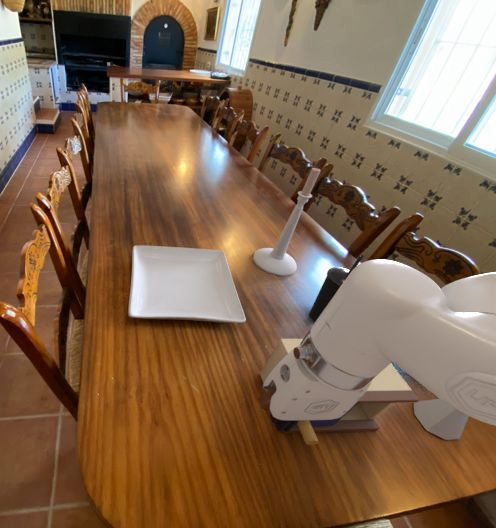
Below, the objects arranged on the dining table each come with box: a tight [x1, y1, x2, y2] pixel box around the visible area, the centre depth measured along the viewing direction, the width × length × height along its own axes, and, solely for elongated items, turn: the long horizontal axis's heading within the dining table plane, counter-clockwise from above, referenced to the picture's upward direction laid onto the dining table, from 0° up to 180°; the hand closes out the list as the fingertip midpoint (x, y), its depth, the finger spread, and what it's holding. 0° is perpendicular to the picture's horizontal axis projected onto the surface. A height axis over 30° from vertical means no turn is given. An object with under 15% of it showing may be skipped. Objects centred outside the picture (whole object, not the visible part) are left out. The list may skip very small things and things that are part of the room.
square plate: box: [127, 245, 247, 324], centre depth 78 cm, size 27×27×4 cm
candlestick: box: [252, 167, 321, 277], centre depth 82 cm, size 13×13×30 cm
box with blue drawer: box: [259, 338, 420, 434], centre depth 54 cm, size 12×18×12 cm, turn 93°
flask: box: [412, 398, 470, 441], centre depth 53 cm, size 7×7×10 cm
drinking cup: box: [308, 254, 364, 323], centre depth 68 cm, size 8×8×20 cm
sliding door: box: [294, 403, 358, 446], centre depth 48 cm, size 4×9×9 cm, turn 93°
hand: (278, 421), depth 46 cm, fingers closed
